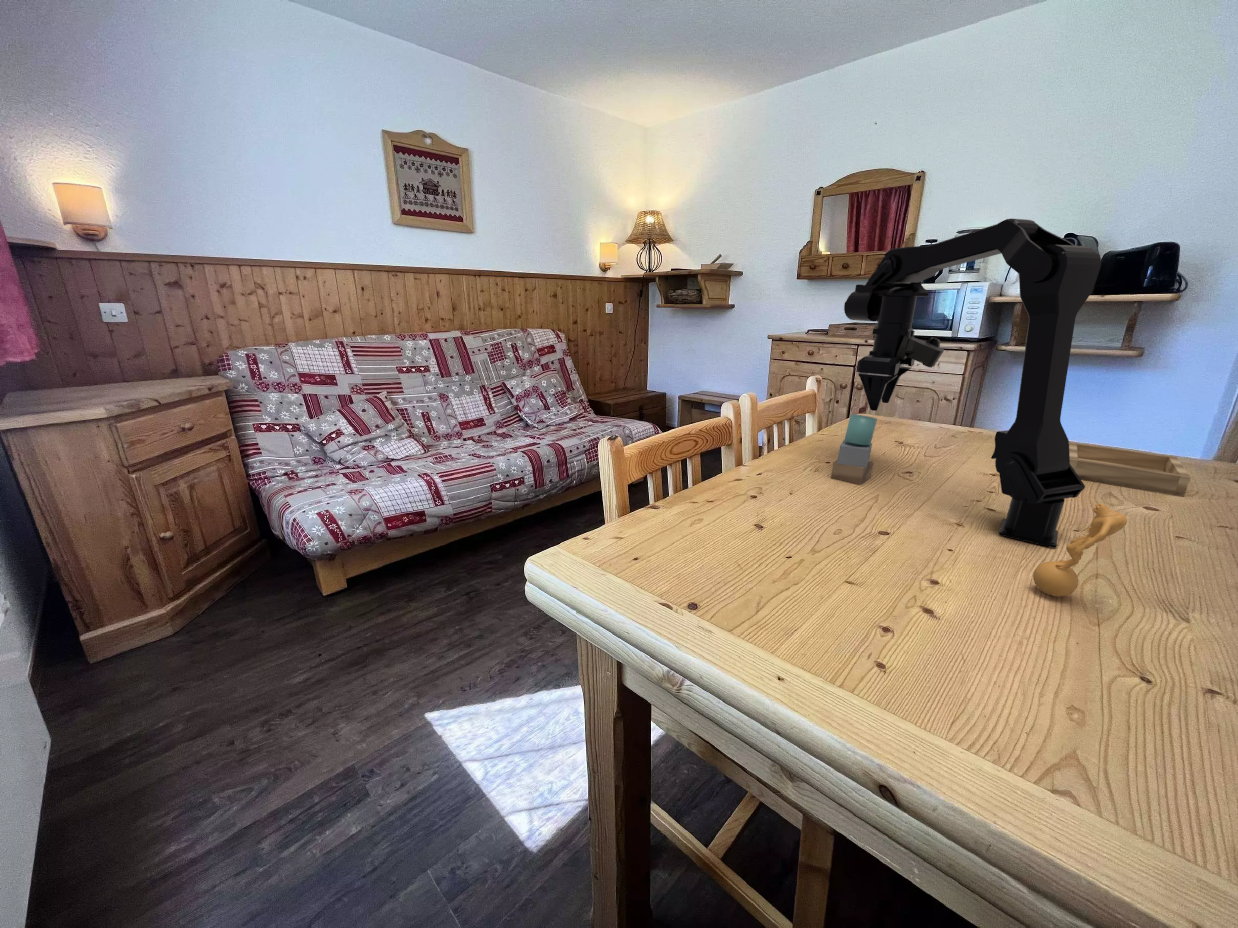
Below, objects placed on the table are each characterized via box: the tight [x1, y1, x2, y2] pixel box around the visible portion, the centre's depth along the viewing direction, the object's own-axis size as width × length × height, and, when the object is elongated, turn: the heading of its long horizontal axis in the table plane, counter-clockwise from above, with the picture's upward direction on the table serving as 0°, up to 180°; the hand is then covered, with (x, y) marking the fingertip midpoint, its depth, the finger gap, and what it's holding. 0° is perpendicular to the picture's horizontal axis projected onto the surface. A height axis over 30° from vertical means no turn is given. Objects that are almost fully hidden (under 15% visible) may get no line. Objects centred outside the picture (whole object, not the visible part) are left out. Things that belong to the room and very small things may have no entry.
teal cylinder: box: [843, 413, 878, 445], centre depth 94 cm, size 5×5×5 cm
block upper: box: [837, 439, 873, 468], centre depth 95 cm, size 5×5×4 cm
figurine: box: [1032, 503, 1128, 597], centre depth 56 cm, size 8×6×12 cm
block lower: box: [830, 459, 875, 486], centre depth 96 cm, size 6×6×4 cm
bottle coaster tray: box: [1069, 441, 1192, 497], centre depth 98 cm, size 16×16×4 cm
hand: (879, 406), depth 97 cm, fingers open, 9 cm apart
